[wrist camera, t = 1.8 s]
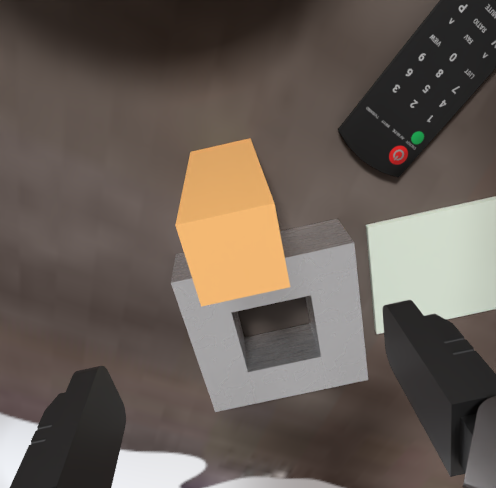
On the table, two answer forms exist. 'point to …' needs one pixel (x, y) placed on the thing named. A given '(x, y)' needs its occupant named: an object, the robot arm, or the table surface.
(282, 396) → the socket block
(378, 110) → the remote control
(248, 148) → the key peg
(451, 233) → the mat
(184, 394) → the table surface
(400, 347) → the robot arm
